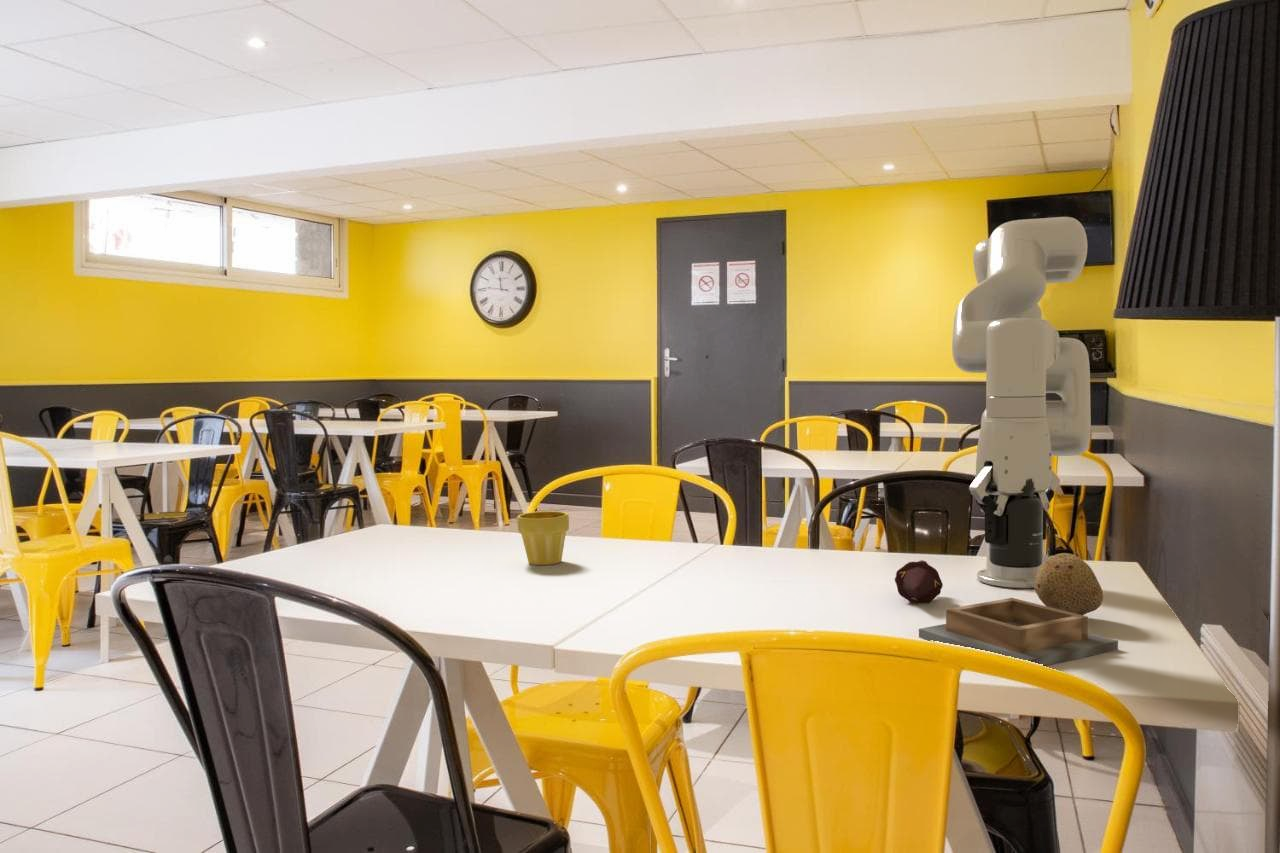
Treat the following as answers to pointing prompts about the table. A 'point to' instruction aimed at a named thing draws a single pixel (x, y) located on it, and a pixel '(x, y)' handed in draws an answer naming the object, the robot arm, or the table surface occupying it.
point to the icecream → (918, 582)
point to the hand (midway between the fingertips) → (1015, 540)
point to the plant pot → (543, 535)
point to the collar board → (1020, 631)
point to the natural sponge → (1068, 585)
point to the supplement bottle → (1021, 531)
